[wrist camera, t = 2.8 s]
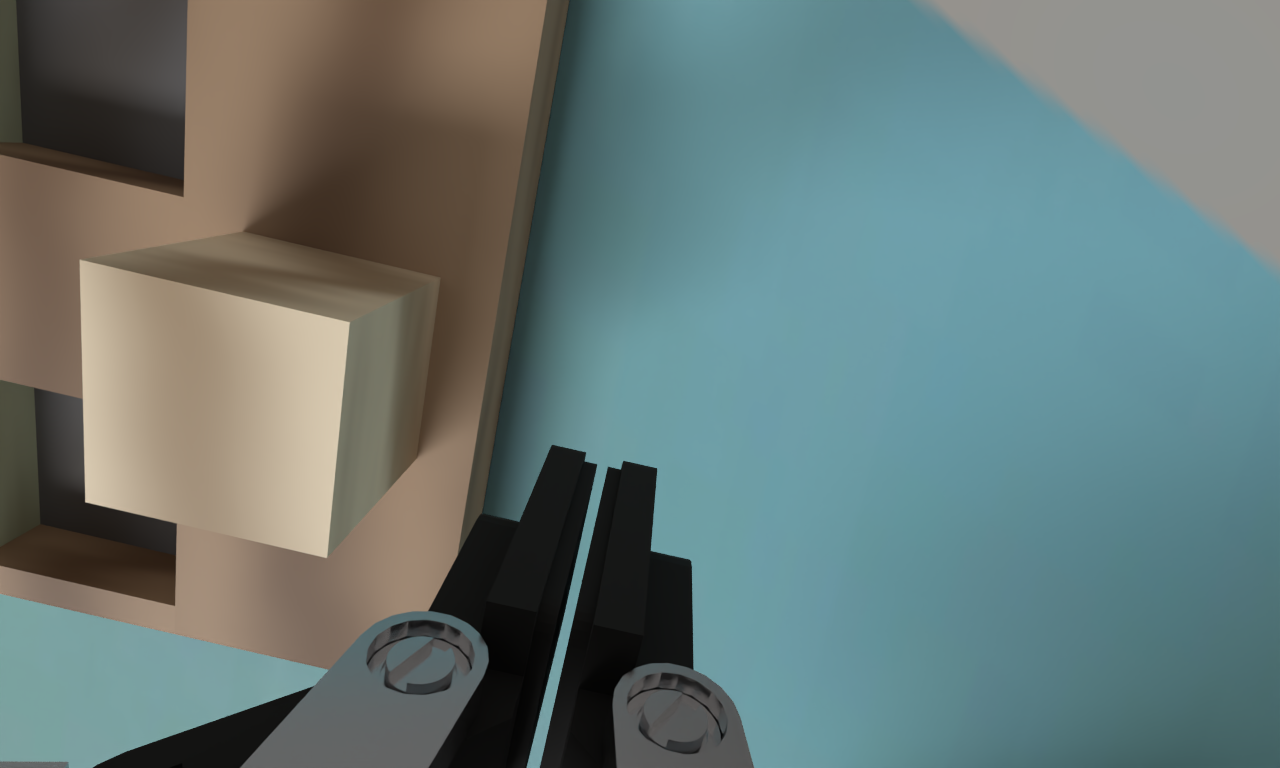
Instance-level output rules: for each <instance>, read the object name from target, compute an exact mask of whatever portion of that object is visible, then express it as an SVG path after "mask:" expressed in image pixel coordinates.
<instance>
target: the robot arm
mask: <svg viewBox="0 0 1280 768" xmlns="http://www.w3.org/2000/svg"><path fill="white" fill-rule="evenodd" d="M585 456H586V452H582V451H577V450H573V449H568V448H564V447H559V446H555V445H552V446H551V448H550V450H549V453H548V455H547V458H546V460H545V462H544V465H543V467H542V470H541V472H540V474H539V477H538V479H537V481H536V484H535V486H534V489H533V491H532V493H531V496H530V498H529V501H528V503H527V505H526V508H525V510H524V512H523V515H522V517H521V520H520V522H517V521H513V520H509V519H504V518H500V517H495V516H491V515H486V514H480V515H479V517H478V518H477V520H476V522H475V524H474V525H473V527H472V529H471V531H470V533H469V535H468V537H467V539H466V541H465V542H464V544H463V546H462V548H461V550H460V552H459V554H458V556H457V557H456V559H455V561H454V563H453V565H452V567H451V569H450V571H449V572H448V574H447V576H446V578H445V580H444V582H443V584H442V586H441V588H440V589H439V591H438V593H437V595H436V597H435V599H434V601H433V603H432V604H431V606H430V608H429V610H428V611H411V612H406V613H401V614H396V615H392V616H390V617H388V618H385V619H383V620H381V621H379V622H376V623H375V624H373V625H372V626H371V627H370V628H368V629H367V630H366V631H365V632H364V633H362V634H361V635H360V636H359V637H358V638H357V640H356V641H355V642H354V643H353V644H352V645H351V646H350V647H349V648H348V649H347V651H346V652H345V653H344V654H343V655H342V656H341V657H340V658H339V659H338V661H337V662H336V663H335V664H334V665H333V666H332V667H331V668H330V669H329V670H328V672H327V673H326V674H325V675H324V676H323V677H322V678H321V679H320V680H319V681H318V683H317V684H316V685H315V686H313V687H310V688H307V689H305V690H302V691H299V692H296V693H293V694H290V695H287V696H285V697H282V698H279V699H276V700H273V701H270V702H267V703H264V704H262V705H259V706H256V707H253V708H250V709H247V710H244V711H242V712H239V713H236V714H233V715H230V716H227V717H224V718H221V719H219V720H216V721H213V722H210V723H207V724H204V725H201V726H199V727H196V728H193V729H190V730H187V731H184V732H181V733H178V734H176V735H173V736H170V737H167V738H164V739H161V740H158V741H156V742H153V743H150V744H147V745H144V746H141V747H138V748H135V749H133V750H130V751H127V752H124V753H122V754H120V755H118V756H116V757H113V758H111V759H109V760H107V761H105V762H102V763H100V764H98V765H96V766H95V767H93V768H526V767H527V763H528V759H529V755H530V751H531V747H532V743H533V739H534V735H535V731H536V727H537V723H538V719H539V715H540V711H541V707H542V703H543V699H544V695H545V690H546V686H547V682H548V678H549V674H550V670H551V666H552V662H553V658H554V654H555V650H556V646H557V642H558V638H559V634H560V630H561V626H562V622H563V617H564V613H565V609H566V604H567V600H568V595H569V590H570V586H571V581H572V577H573V572H574V568H575V563H576V559H577V554H578V550H579V545H580V541H581V536H582V532H583V527H584V522H585V518H586V513H587V509H588V504H589V500H590V495H591V491H592V486H593V482H594V477H595V473H596V468H597V464H593V463H589V462H584V461H585ZM656 477H657V468H653V467H648V466H644V465H640V464H635V463H631V462H626V461H623V464H622V468H621V470H620V469H615V468H611V467H608V469H607V474H606V478H605V483H604V487H603V491H602V496H601V500H600V505H599V509H598V514H597V518H596V522H595V527H594V531H593V536H592V540H591V544H590V549H589V553H588V558H587V562H586V566H585V571H584V575H583V580H582V584H581V589H580V593H579V597H578V602H577V606H576V611H575V615H574V619H573V624H572V628H571V633H570V637H569V642H568V646H567V650H566V655H565V659H564V664H563V668H562V672H561V677H560V681H559V686H558V690H557V695H556V699H555V703H554V708H553V712H552V717H551V721H550V726H549V730H548V734H547V739H546V743H545V748H544V752H543V756H542V761H541V765H540V768H754V766H753V762H752V759H751V755H750V751H749V748H748V744H747V740H746V737H745V733H744V729H743V726H742V722H741V718H740V716H739V714H738V711H737V709H736V707H735V705H734V703H733V701H732V700H731V698H730V697H729V696H728V695H727V694H726V693H725V691H724V690H723V689H722V688H721V687H720V686H719V685H717V684H716V683H715V682H713V681H712V680H711V679H709V678H708V677H707V676H705V675H703V674H701V673H699V672H696V671H694V670H693V615H692V565H691V561H690V560H688V559H684V558H679V557H675V556H670V555H666V554H661V553H657V552H652V551H651V539H652V526H653V514H654V502H655V489H656ZM0 768H69V765H68V762H0Z"/></svg>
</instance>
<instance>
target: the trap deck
mask: <svg viewBox="0 0 1280 768" xmlns="http://www.w3.org/2000/svg"><path fill="white" fill-rule="evenodd" d="M568 6H569V0H0V594H4V595H8V596H12V597H17V598H21V599H25V600H30V601H34V602H38V603H43V604H47V605H51V606H56V607H60V608H64V609H69V610H73V611H77V612H82V613H86V614H90V615H95V616H99V617H103V618H108V619H112V620H116V621H121V622H125V623H129V624H134V625H138V626H142V627H147V628H151V629H155V630H160V631H164V632H168V633H173V634H177V635H181V636H186V637H190V638H194V639H199V640H203V641H207V642H212V643H216V644H220V645H225V646H229V647H233V648H238V649H242V650H246V651H251V652H255V653H259V654H264V655H268V656H272V657H277V658H281V659H285V660H290V661H294V662H298V663H303V664H307V665H311V666H316V667H320V668H324V669H330V668H331V667H332V666H333V665H334V664H335V663H336V662H337V661H338V659H339V658H340V657H341V656H342V655H343V654H344V653H345V652H346V651H347V649H348V648H349V647H350V646H351V645H352V644H353V643H354V642H355V641H356V640H357V638H358V637H359V636H360V635H361V634H362V633H364V632H365V631H366V630H367V629H368V628H370V627H371V626H372V625H373V624H375V623H376V622H379V621H381V620H383V619H385V618H388V617H390V616H392V615H396V614H401V613H406V612H411V611H428V610H429V608H430V606H431V604H432V603H433V601H434V599H435V597H436V595H437V593H438V591H439V589H440V588H441V586H442V584H443V582H444V580H445V578H446V576H447V574H448V572H449V571H450V569H451V567H452V565H453V563H454V561H455V559H456V557H457V556H458V554H459V552H460V550H461V548H462V546H463V544H464V542H465V541H466V539H467V537H468V535H469V533H470V531H471V529H472V527H473V525H474V524H475V522H476V520H477V518H478V517H479V515H480V514H482V511H483V505H484V499H485V493H486V487H487V481H488V476H489V470H490V464H491V458H492V452H493V446H494V440H495V435H496V429H497V423H498V417H499V411H500V405H501V399H502V393H503V388H504V382H505V376H506V370H507V364H508V358H509V352H510V346H511V341H512V335H513V329H514V323H515V317H516V311H517V305H518V299H519V294H520V288H521V282H522V276H523V270H524V264H525V258H526V252H527V247H528V241H529V235H530V229H531V223H532V217H533V211H534V205H535V200H536V194H537V188H538V182H539V176H540V170H541V164H542V158H543V153H544V147H545V141H546V135H547V129H548V123H549V117H550V112H551V106H552V100H553V94H554V88H555V82H556V76H557V70H558V65H559V59H560V53H561V47H562V41H563V35H564V29H565V23H566V18H567V12H568ZM242 231H243V232H247V233H252V234H256V235H260V236H264V237H269V238H273V239H277V240H282V241H286V242H290V243H295V244H299V245H303V246H308V247H312V248H316V249H320V250H325V251H329V252H333V253H338V254H342V255H346V256H351V257H355V258H359V259H363V260H368V261H372V262H376V263H381V264H385V265H389V266H394V267H398V268H402V269H407V270H411V271H415V272H419V273H424V274H428V275H432V276H437V277H441V280H440V287H439V294H438V302H437V309H436V317H435V324H434V332H433V339H432V346H431V354H430V361H429V369H428V376H427V384H426V391H425V399H424V406H423V413H422V421H421V428H420V436H419V443H418V451H417V458H416V460H415V461H414V462H413V463H412V464H411V466H410V467H409V468H408V469H407V470H406V471H405V472H404V473H403V474H402V475H401V477H400V478H399V479H398V480H397V481H396V482H395V483H394V484H393V485H392V487H391V488H390V489H389V490H388V491H387V492H386V493H385V494H384V495H383V497H382V498H381V499H380V500H379V501H378V502H377V503H376V504H375V505H374V507H373V508H372V509H371V510H370V511H369V512H368V513H367V514H366V515H365V517H364V518H363V519H362V520H361V521H360V522H359V523H358V524H357V525H356V526H355V528H354V529H353V530H352V531H351V532H350V533H349V534H348V535H347V536H346V538H345V539H344V540H343V541H342V542H341V543H340V544H339V545H338V546H337V548H336V549H335V550H334V551H333V552H332V553H331V554H330V555H329V556H328V558H324V557H320V556H316V555H311V554H307V553H303V552H298V551H294V550H290V549H285V548H281V547H277V546H272V545H268V544H264V543H259V542H255V541H251V540H247V539H242V538H238V537H234V536H229V535H225V534H221V533H216V532H212V531H208V530H203V529H199V528H195V527H190V526H186V525H182V524H177V523H173V522H169V521H164V520H160V519H156V518H151V517H147V516H143V515H138V514H134V513H130V512H125V511H121V510H117V509H112V508H108V507H104V506H99V505H95V504H91V503H86V502H85V465H84V423H83V382H82V340H81V299H80V259H86V258H92V257H98V256H104V255H109V254H115V253H121V252H127V251H132V250H138V249H144V248H150V247H156V246H161V245H167V244H173V243H179V242H185V241H190V240H196V239H202V238H208V237H213V236H219V235H225V234H231V233H237V232H242Z"/></svg>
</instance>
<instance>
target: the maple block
mask: <svg viewBox="0 0 1280 768" xmlns="http://www.w3.org/2000/svg"><path fill="white" fill-rule="evenodd" d="M440 280H441V277H437V276H432V275H428V274H424V273H419V272H415V271H411V270H407V269H402V268H398V267H394V266H389V265H385V264H381V263H376V262H372V261H368V260H363V259H359V258H355V257H351V256H346V255H342V254H338V253H333V252H329V251H325V250H320V249H316V248H312V247H308V246H303V245H299V244H295V243H290V242H286V241H282V240H277V239H273V238H269V237H264V236H260V235H256V234H252V233H247V232H243V231H242V232H237V233H231V234H225V235H219V236H213V237H208V238H202V239H196V240H190V241H185V242H179V243H173V244H167V245H161V246H156V247H150V248H144V249H138V250H132V251H127V252H121V253H115V254H109V255H104V256H98V257H92V258H86V259H80V299H81V340H82V382H83V423H84V465H85V502H86V503H91V504H95V505H99V506H104V507H108V508H112V509H117V510H121V511H125V512H130V513H134V514H138V515H143V516H147V517H151V518H156V519H160V520H164V521H169V522H173V523H177V524H182V525H186V526H190V527H195V528H199V529H203V530H208V531H212V532H216V533H221V534H225V535H229V536H234V537H238V538H242V539H247V540H251V541H255V542H259V543H264V544H268V545H272V546H277V547H281V548H285V549H290V550H294V551H298V552H303V553H307V554H311V555H316V556H320V557H324V558H328V556H329V555H330V554H331V553H332V552H333V551H334V550H335V549H336V548H337V546H338V545H339V544H340V543H341V542H342V541H343V540H344V539H345V538H346V536H347V535H348V534H349V533H350V532H351V531H352V530H353V529H354V528H355V526H356V525H357V524H358V523H359V522H360V521H361V520H362V519H363V518H364V517H365V515H366V514H367V513H368V512H369V511H370V510H371V509H372V508H373V507H374V505H375V504H376V503H377V502H378V501H379V500H380V499H381V498H382V497H383V495H384V494H385V493H386V492H387V491H388V490H389V489H390V488H391V487H392V485H393V484H394V483H395V482H396V481H397V480H398V479H399V478H400V477H401V475H402V474H403V473H404V472H405V471H406V470H407V469H408V468H409V467H410V466H411V464H412V463H413V462H414V461H415V460H416V458H417V451H418V443H419V436H420V428H421V421H422V413H423V406H424V399H425V391H426V384H427V376H428V369H429V361H430V354H431V346H432V339H433V332H434V324H435V317H436V309H437V302H438V294H439V287H440Z"/></svg>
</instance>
